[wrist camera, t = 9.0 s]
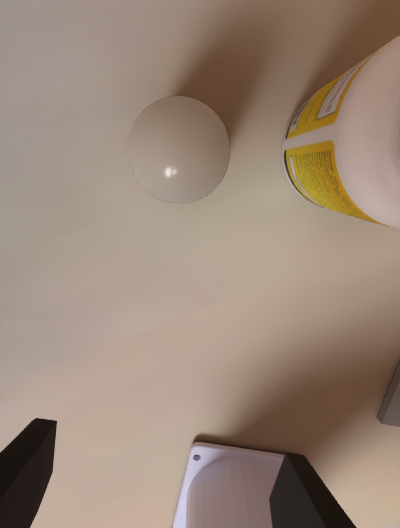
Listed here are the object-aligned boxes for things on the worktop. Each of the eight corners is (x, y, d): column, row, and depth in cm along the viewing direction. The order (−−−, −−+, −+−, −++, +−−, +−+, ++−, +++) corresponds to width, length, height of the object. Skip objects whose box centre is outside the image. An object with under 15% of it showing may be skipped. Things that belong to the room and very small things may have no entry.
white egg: (212, 201, 18) (218, 212, 14) (140, 186, 18) (121, 193, 13) (227, 125, 17) (240, 108, 13) (152, 108, 17) (135, 85, 12)
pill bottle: (384, 209, 19) (625, 263, 8) (273, 205, 19) (370, 254, 8) (407, 86, 17) (753, -51, 6) (285, 82, 17) (428, -64, 6)
